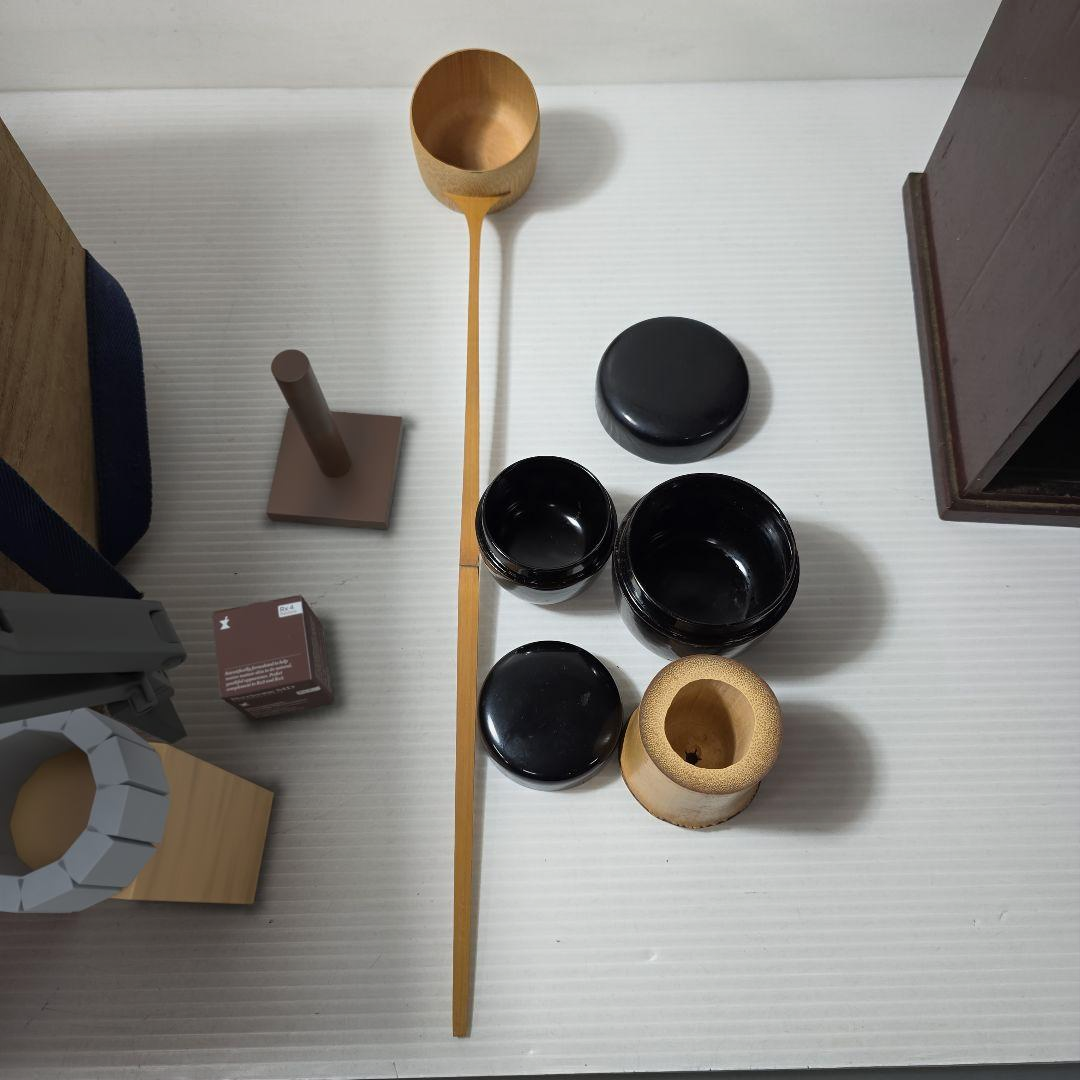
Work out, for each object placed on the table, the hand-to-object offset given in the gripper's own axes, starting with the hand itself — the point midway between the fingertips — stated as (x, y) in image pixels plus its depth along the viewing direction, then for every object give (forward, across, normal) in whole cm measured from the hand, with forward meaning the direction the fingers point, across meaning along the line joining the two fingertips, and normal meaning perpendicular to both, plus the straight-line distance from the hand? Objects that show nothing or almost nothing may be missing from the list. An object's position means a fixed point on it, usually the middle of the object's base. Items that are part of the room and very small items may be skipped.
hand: (23, 795), depth 42 cm
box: (+24, +10, +7) cm, 27 cm away
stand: (+24, 0, 0) cm, 24 cm away
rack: (+24, +20, +20) cm, 37 cm away
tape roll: (+4, 0, 0) cm, 4 cm away
